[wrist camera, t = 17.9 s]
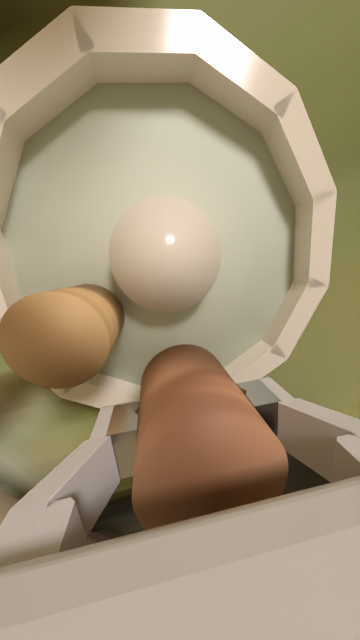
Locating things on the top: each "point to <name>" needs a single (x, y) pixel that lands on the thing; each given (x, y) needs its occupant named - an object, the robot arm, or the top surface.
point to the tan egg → (61, 334)
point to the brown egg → (199, 442)
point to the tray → (163, 189)
